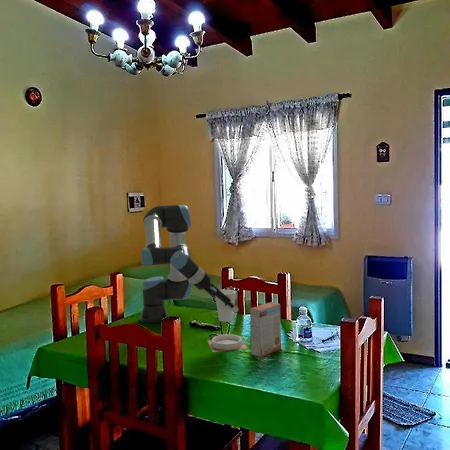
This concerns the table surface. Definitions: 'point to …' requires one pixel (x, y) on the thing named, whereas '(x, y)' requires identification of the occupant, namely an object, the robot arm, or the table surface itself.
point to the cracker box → (265, 329)
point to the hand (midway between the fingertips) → (231, 308)
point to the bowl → (227, 342)
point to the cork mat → (226, 350)
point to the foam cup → (223, 311)
